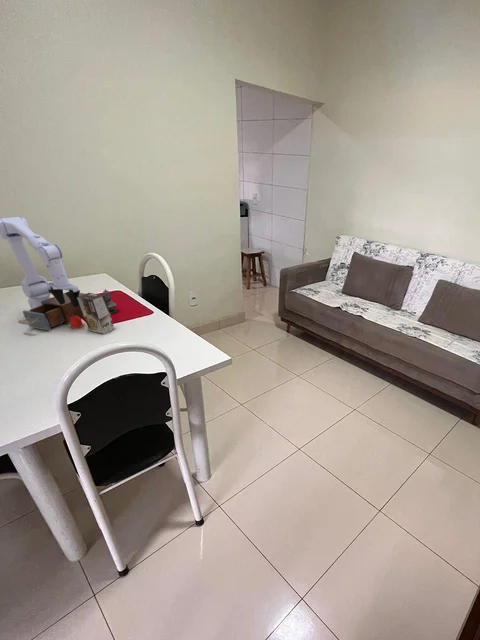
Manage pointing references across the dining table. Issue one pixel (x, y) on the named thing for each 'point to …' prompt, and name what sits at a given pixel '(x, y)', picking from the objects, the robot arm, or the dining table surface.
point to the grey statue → (110, 302)
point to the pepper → (75, 321)
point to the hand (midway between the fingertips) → (69, 305)
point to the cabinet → (66, 307)
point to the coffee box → (96, 312)
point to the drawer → (43, 316)
